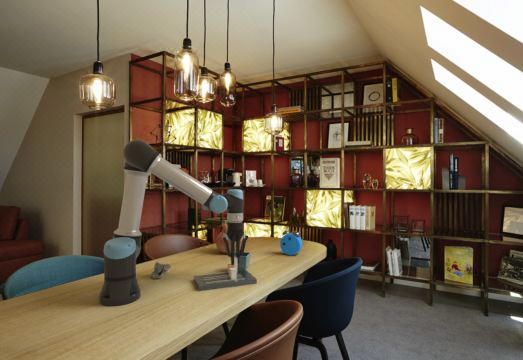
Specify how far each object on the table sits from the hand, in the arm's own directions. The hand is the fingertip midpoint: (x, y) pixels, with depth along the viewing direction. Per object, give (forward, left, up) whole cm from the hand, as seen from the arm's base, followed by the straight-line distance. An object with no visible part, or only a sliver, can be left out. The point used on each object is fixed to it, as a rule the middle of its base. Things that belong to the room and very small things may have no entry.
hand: (235, 270), depth 153 cm
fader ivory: (-3, -7, -1) cm, 8 cm away
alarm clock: (+46, +32, -4) cm, 56 cm away
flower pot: (+6, +10, -4) cm, 12 cm away
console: (-6, -4, -4) cm, 8 cm away
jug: (+12, +52, -4) cm, 53 cm away
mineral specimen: (-33, +17, -4) cm, 37 cm away
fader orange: (-2, 0, -1) cm, 2 cm away
